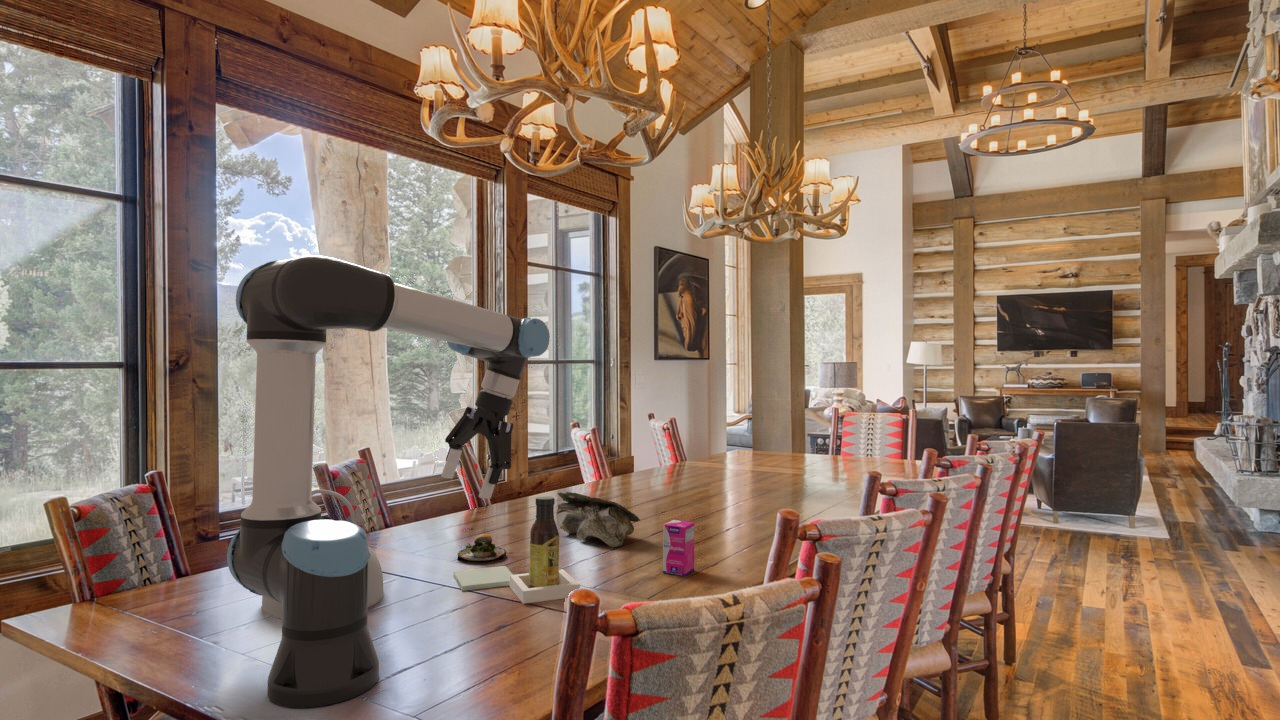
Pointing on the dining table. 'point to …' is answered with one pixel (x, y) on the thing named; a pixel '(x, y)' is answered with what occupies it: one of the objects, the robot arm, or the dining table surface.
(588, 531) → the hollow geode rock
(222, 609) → the dining table surface
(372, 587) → the kettle
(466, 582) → the plate
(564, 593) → the pocket frame
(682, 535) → the supplement box
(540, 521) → the sauce bottle
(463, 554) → the burger
